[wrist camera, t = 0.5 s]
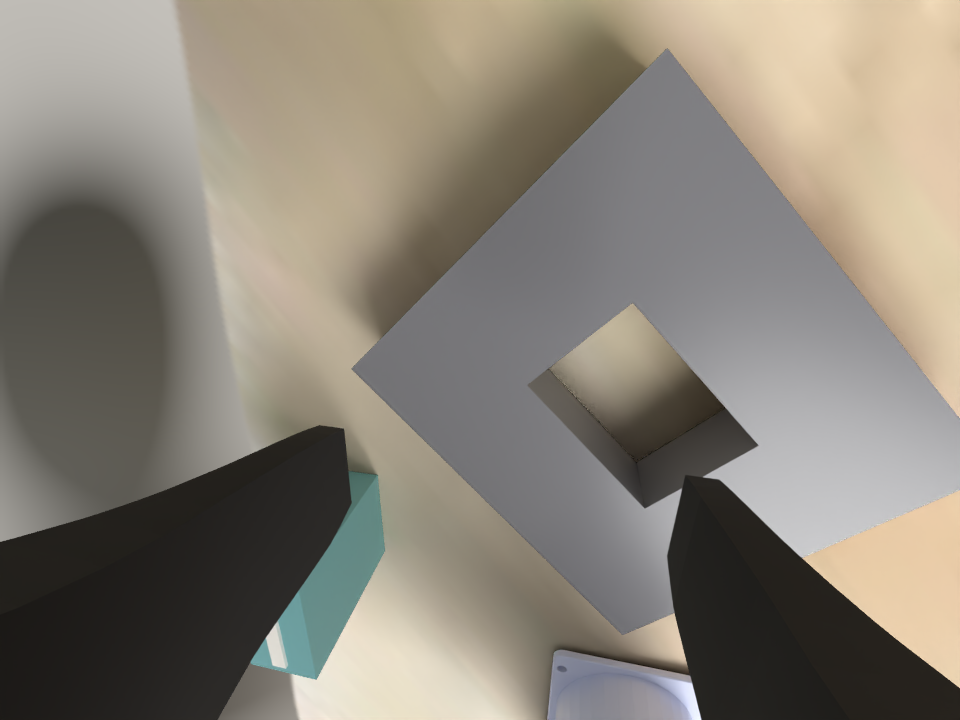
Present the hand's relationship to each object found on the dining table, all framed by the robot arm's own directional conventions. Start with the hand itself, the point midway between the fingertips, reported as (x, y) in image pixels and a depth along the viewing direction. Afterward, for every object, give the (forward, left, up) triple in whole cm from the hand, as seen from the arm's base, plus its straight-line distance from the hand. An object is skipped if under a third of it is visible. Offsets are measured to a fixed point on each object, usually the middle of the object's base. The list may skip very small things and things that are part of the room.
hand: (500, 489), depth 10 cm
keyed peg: (-10, +9, -10) cm, 17 cm away
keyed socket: (-1, -4, -10) cm, 10 cm away
